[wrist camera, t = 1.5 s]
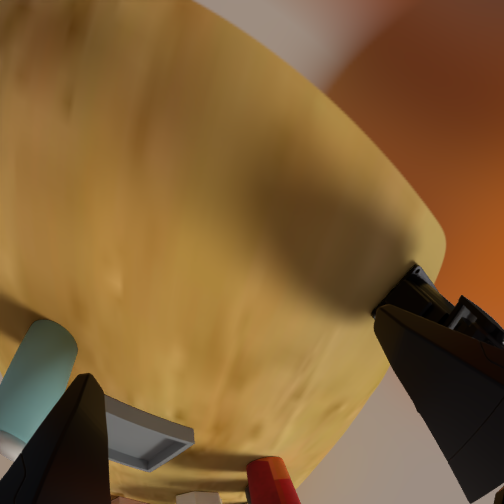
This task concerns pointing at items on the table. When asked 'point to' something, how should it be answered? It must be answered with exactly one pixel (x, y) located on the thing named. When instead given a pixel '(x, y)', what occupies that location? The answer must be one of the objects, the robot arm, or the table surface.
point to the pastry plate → (125, 501)
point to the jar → (199, 498)
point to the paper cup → (270, 482)
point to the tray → (143, 437)
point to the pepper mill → (34, 383)
